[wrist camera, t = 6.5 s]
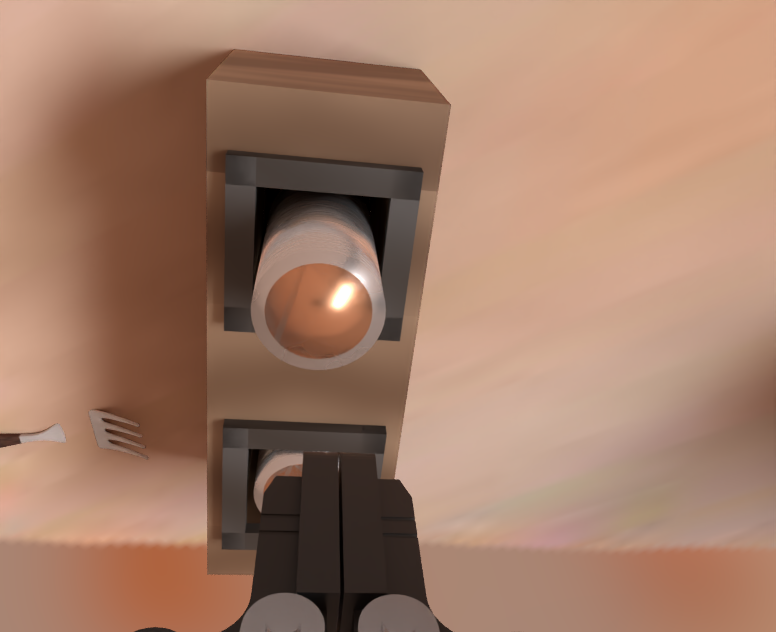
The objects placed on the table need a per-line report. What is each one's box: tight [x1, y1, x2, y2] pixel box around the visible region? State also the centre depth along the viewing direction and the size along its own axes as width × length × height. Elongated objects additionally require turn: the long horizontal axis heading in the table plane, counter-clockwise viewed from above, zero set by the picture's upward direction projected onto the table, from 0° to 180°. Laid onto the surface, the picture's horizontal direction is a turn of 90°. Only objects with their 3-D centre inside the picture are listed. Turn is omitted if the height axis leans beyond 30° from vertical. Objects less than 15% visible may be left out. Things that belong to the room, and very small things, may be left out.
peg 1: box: [251, 189, 386, 370], centre depth 24 cm, size 4×4×8 cm
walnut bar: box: [206, 49, 451, 575], centre depth 31 cm, size 22×8×9 cm, turn 173°
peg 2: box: [254, 449, 345, 512], centre depth 33 cm, size 4×4×8 cm
